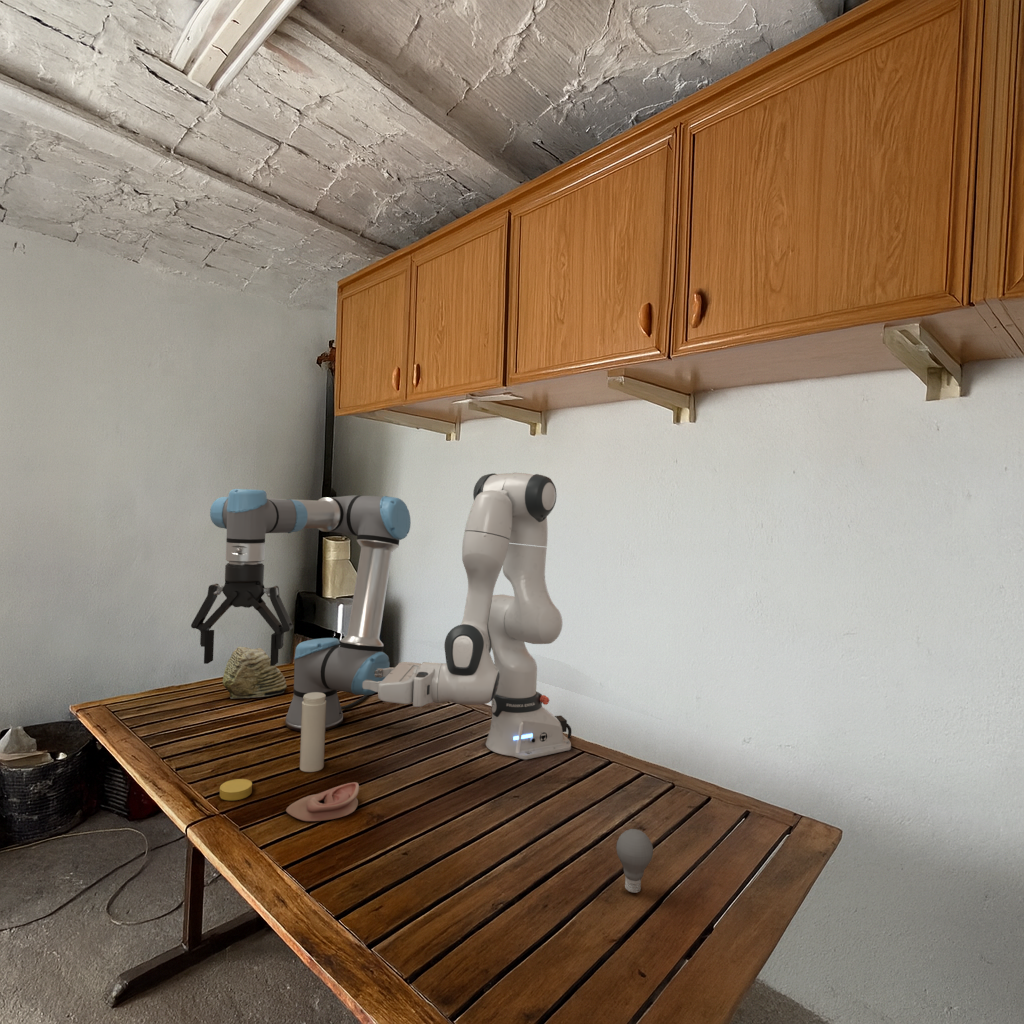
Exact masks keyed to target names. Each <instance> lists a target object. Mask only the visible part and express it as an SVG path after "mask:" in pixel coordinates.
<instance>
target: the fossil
mask: <svg viewBox="0 0 1024 1024" xmlns="http://www.w3.org/2000/svg"><path fill="white" fill-rule="evenodd" d="M270 658H271V657H270V656H269V655H268V654H267V653H266V652H265V650H264V649H263V648H260V647H258V648H251V647H247V646H246V647H245V646H238V647H237V648H236V649H235V650H233V651H232V653H231V656H230V657H229V659H228V660H227V663H226V666H225V668H224V671H223V675H222V676H223V677H222V685H223V687H224V688H225V690H226V691H228V693H229V698H230V699H250V698H264V697H271V696H275V695H281V694H284V693H285V691H286V689H287V687H288V686H287V680H286V678H285V676H284V674H283V673H282V672H281V669H279V668H278V667H277V664H276V665H274V666H270Z"/></svg>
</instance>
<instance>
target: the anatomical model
mask: <svg viewBox="0 0 1024 1024" xmlns="http://www.w3.org/2000/svg"><path fill="white" fill-rule="evenodd" d="M359 792H360V785H359V783H358V782H355V781H352V782H347V783H344V784H341V785H338V786H335V787H332V788H329V789H327V790H324V791H321V792H319V793H316V794H311V795H307V796H304V797H302V798H300V799H298V800H296V801H294V802H293V803H291V804H289V806H287V807H286V809H285V812H286V813H287V814H288V815H289V816H291V817H293V818H295V819H297V820H300V821H303V822H321V821H329V820H334V819H339V818H342V817H346V816H348V815H351V814H353V812H355V811H356V809H357V808H358V805H359V799H358V798H357V796H358V795H359Z"/></svg>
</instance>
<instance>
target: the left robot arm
mask: <svg viewBox="0 0 1024 1024" xmlns="http://www.w3.org/2000/svg"><path fill="white" fill-rule="evenodd" d="M267 495H268V494H267V491H266V490H264V489H246V488H233V489H231V490H230V491H229V492H228V496H221V497H218V498H216V499H215V500H214V501H213V502H212V504H211V506H210V511H209V513H210V514H209V516H210V520H211V522H212V524H213V525H214V526H215V527H217V528H220V529H225V530H226V539H225V541H226V542H225V561H227V563H226V564H225V567H224V584H223V585H220V584H219V583H213V584H210V585H209V586H208V589H207V594H206V597H205V599H204V601H203V602H202V604H201V606H200V608H199V609H198V611H197V614H196V615H195V617H194V619H193V620H192V623H191V625H190V627H191V629H195V630H198V631H199V632H200V635H199V637H200V638H199V642H200V643H199V644H200V645H199V646H200V647H202V648H204V649H203V664H205V665H206V664H209V663H211V662H213V661H214V649H215V647H214V645H215V641H214V640H215V630H214V629H212V627H213V626H214V625H215V624H216V623H217V622H218V621H219V620H220V619H221V618H222V617H223V615H224V614H225V613H226V612H227V611H228V610H229V609H230V608H231V607H233V608H242V607H243V608H248V609H249V608H253V609H254V610H255V611H257V612H258V613H259V614H260V616H261V618H263V620H264V621H265V622H266V623H267V625H269V627H270V629H272V632H274V633H272V634H270V657H269V658H270V666H274V665H276V666H277V664H278V663H279V651H280V650H281V649H283V647H284V640H285V639H284V638H285V637H284V635H285V633H286V632H287V633H288V632H290V631H291V630H292V629H294V625H293V622H292V620H291V618H290V616H289V613H288V611H287V609H286V607H285V605H284V603H283V601H282V598H281V595H280V587H279V586H278V585H274V586H269V587H267V586H265V585H264V580H265V579H264V578H265V564H264V563H262V562H264V561H265V551H266V550H265V549H266V543H265V542H266V534H284V533H285V534H292V533H297V532H300V531H302V530H303V529H317V530H319V531H321V532H326V533H328V532H329V533H330V532H331V533H338V534H342V535H348V536H355V537H356V542H357V543H358V545H359V546H360V553H359V560H358V565H357V572H356V577H355V585H354V591H353V597H352V603H351V611H350V616H349V622H348V628H347V634H346V635H345V636H344V637H343V638H342V639H340V640H339V638H336V637H321V638H313V639H307V640H304V641H302V642H299V643H298V644H297V645H296V647H295V652H294V653H295V654H294V657H293V659H294V661H293V662H294V663H293V665H294V667H293V695H292V696H293V697H292V699H291V702H290V704H289V708H288V711H287V713H286V715H285V726H286V728H287V729H289V730H291V731H294V732H295V731H296V732H301V716H302V702H303V701H304V699H303V697H304V695H305V694H307V693H312V692H320V693H324V694H325V695H326V698H325V700H326V725H325V731H329V730H332V729H335V728H337V727H339V726H340V725H342V723H343V722H344V714H343V710H347V709H349V708H352V707H354V706H356V705H358V704H359V703H361V702H362V701H364V700H365V699H367V698H368V697H369V696H372V695H374V694H376V693H377V692H375V691H372V690H370V689H363V687H362V685H363V681H365V680H366V679H367V680H372V681H376V682H378V681H382V680H383V679H384V678H385V677H382V678H379V677H375V670H376V669H378V668H379V669H385V668H391V665H390V663H391V662H390V658H389V655H387V654H386V653H385V652H384V648H385V647H384V643H383V642H382V641H381V639H380V635H381V630H382V621H383V616H384V609H385V602H386V596H387V589H388V583H389V576H390V568H391V563H392V556H393V552H394V551H395V550H397V549H398V548H399V545H400V541H401V540H403V539H405V538H407V536H408V534H409V533H410V530H411V515H410V510H409V508H408V505H407V504H406V502H404V500H402V499H401V498H400V497H399V498H398V497H394V496H387V495H360V494H354V495H352V494H351V495H343V496H333V497H332V496H331V497H330V496H329V497H327V496H325V497H321V498H318V500H314V499H313V500H312V499H294V498H293V499H291V498H268V496H267ZM222 593H223V595H224V596H225V599H224V600H223V601H222V602H221V603H220V605H219V607H218V608H216V610H215V611H214V612H213V613H212V614H211V615H210V616H209V617H208V618H207V616H208V614H209V612H210V611H211V609H212V607H213V605H214V603H215V602H216V600H217V599H218V596H219V595H221V594H222ZM265 594H266V596H267V598H269V599H270V602H271V604H272V607H273V609H274V612H275V613H276V615H277V617H278V618H277V617H276V616H275V614H274V612H272V611H271V609H270V608H269V607H268V606H267V603H266V602H265V601H264V599H263V596H264V595H265ZM206 618H207V619H206ZM338 692H344V693H350V694H353V695H356V696H359V695H361V697H360V698H358V699H356V700H355V701H353V702H350V703H348V704H346V705H341V702H340V699H339V695H338Z"/></svg>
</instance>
